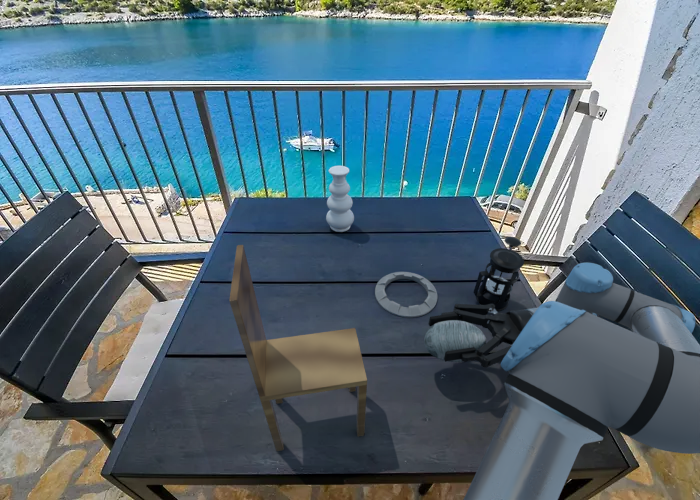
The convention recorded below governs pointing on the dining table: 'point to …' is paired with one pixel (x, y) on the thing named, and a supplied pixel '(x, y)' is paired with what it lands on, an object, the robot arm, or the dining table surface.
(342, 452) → the dining table surface
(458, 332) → the grey streaked ellipsoid
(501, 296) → the french press
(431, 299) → the ring
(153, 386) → the dining table surface
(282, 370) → the wooden chair
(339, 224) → the vase
